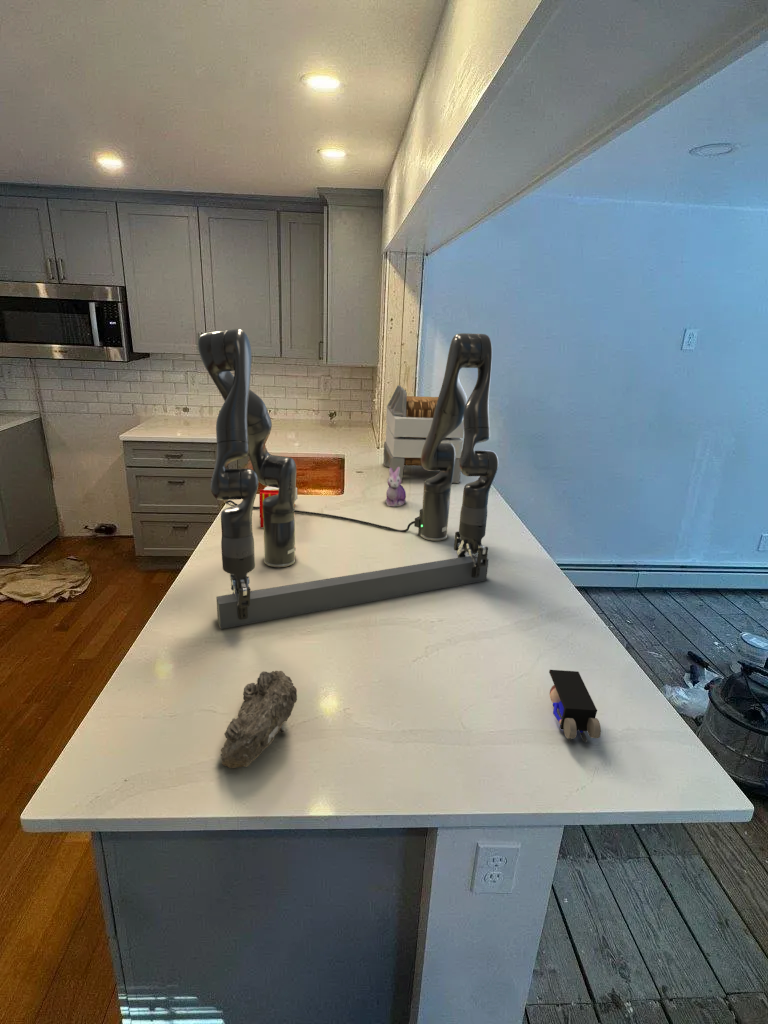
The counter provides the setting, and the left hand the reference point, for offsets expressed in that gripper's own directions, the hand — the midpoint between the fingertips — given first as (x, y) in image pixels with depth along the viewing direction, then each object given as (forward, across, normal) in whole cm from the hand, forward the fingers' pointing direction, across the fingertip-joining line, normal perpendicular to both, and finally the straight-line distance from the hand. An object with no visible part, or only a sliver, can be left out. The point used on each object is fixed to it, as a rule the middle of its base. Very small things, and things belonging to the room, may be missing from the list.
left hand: (241, 613), depth 140 cm
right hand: (-1, 0, +66) cm, 66 cm away
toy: (+2, -71, +28) cm, 76 cm away
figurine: (+2, -70, +76) cm, 103 cm away
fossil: (+2, +40, -4) cm, 40 cm away
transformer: (+2, -107, +107) cm, 151 cm away
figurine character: (+2, +60, +52) cm, 79 cm away
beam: (+2, 0, +33) cm, 33 cm away
